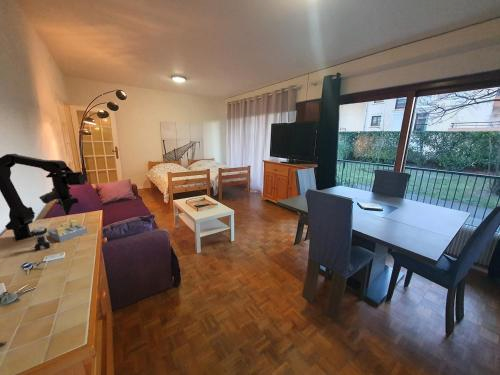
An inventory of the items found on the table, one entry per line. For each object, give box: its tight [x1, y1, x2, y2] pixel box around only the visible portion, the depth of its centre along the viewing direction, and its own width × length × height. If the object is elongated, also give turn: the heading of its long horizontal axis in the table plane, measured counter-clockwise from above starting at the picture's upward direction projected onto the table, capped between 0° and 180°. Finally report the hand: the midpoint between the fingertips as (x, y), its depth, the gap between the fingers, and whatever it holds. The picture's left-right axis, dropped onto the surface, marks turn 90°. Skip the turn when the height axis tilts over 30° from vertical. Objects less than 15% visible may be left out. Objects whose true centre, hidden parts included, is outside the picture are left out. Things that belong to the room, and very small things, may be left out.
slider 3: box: [69, 219, 80, 227], centre depth 115 cm, size 2×3×3 cm
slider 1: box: [54, 226, 65, 235], centre depth 105 cm, size 2×3×3 cm
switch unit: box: [47, 224, 88, 243], centre depth 111 cm, size 14×12×3 cm
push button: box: [30, 226, 51, 252], centre depth 95 cm, size 7×5×10 cm
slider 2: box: [60, 222, 70, 229], centre depth 111 cm, size 2×3×3 cm
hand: (67, 214), depth 110 cm, fingers closed
